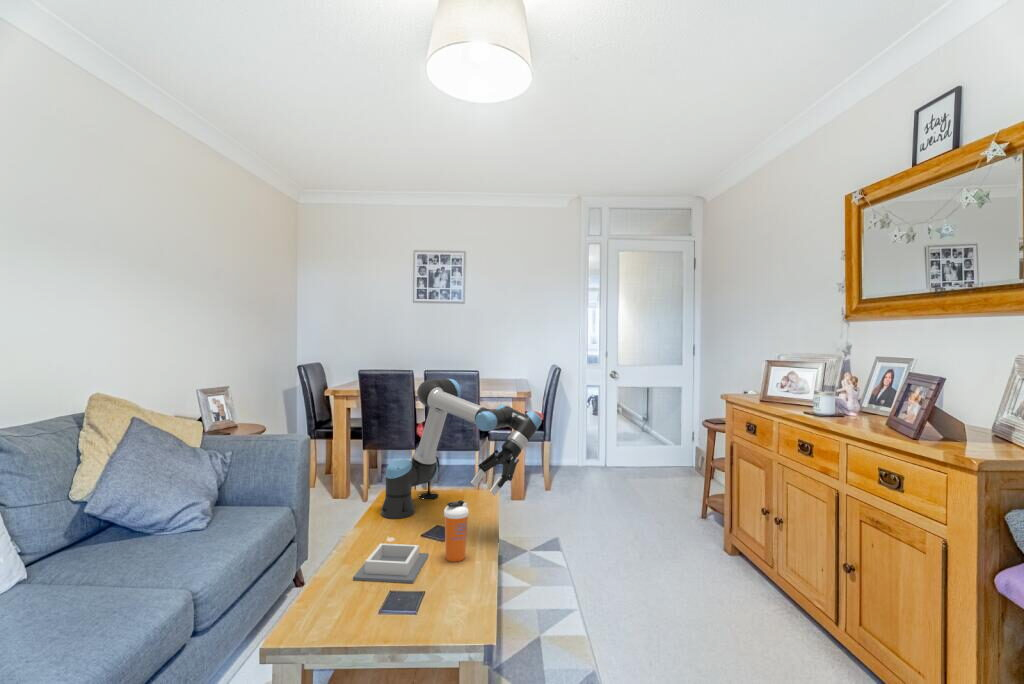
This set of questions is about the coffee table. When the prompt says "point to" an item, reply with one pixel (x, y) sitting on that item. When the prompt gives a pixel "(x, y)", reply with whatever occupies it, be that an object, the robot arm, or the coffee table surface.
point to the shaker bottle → (455, 530)
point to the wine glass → (428, 494)
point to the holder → (393, 564)
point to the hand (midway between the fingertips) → (482, 489)
